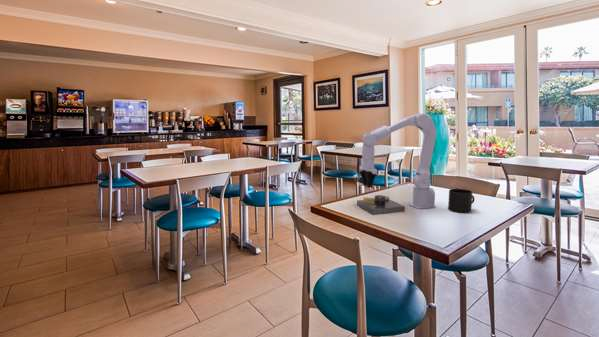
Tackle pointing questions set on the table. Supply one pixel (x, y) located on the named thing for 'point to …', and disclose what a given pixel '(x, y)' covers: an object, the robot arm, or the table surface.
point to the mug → (460, 200)
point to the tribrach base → (381, 207)
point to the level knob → (376, 199)
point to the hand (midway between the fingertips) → (367, 186)
